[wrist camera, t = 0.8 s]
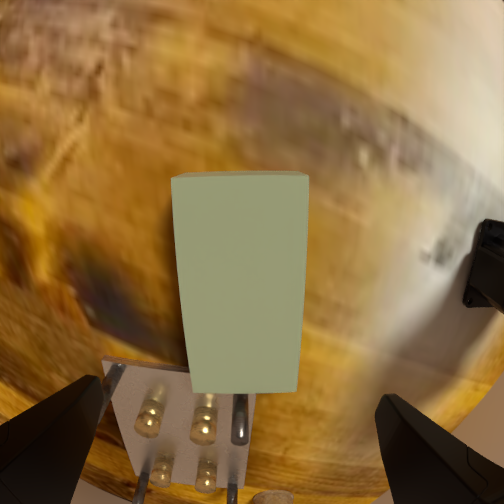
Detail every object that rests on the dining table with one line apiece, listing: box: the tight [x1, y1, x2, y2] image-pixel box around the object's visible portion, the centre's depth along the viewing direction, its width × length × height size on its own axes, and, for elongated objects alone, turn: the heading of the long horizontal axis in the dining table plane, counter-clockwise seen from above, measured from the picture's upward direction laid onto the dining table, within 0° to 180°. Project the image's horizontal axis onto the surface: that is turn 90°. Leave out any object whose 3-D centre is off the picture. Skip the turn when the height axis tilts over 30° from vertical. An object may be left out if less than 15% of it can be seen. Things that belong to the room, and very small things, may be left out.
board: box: [171, 171, 309, 394], centre depth 17 cm, size 12×6×4 cm, turn 1°
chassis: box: [98, 355, 256, 504], centre depth 20 cm, size 16×11×6 cm
